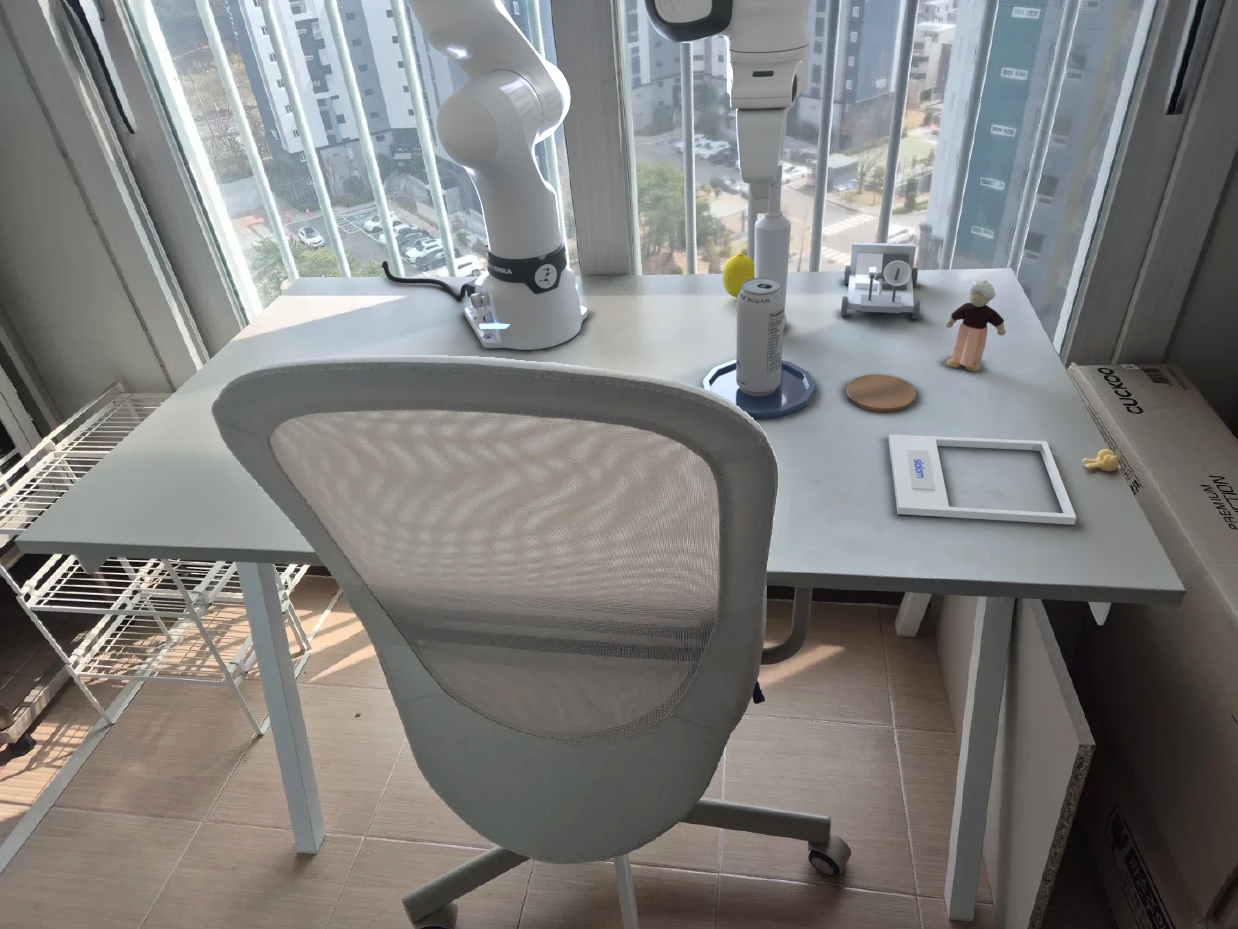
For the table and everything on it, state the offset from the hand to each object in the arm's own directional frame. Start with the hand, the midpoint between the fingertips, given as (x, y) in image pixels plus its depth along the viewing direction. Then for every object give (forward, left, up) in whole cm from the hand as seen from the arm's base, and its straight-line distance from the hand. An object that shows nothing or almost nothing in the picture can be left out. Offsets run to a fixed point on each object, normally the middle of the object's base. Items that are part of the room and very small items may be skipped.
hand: (764, 198), depth 102 cm
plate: (0, 0, -27) cm, 27 cm away
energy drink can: (0, 0, -26) cm, 26 cm away
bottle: (-14, +14, -27) cm, 33 cm away
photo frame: (+31, +6, -27) cm, 41 cm away
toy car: (-9, +33, -27) cm, 43 cm away
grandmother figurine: (+13, +27, -27) cm, 40 cm away
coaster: (+11, +12, -27) cm, 31 cm away
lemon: (-25, +17, -27) cm, 41 cm away
